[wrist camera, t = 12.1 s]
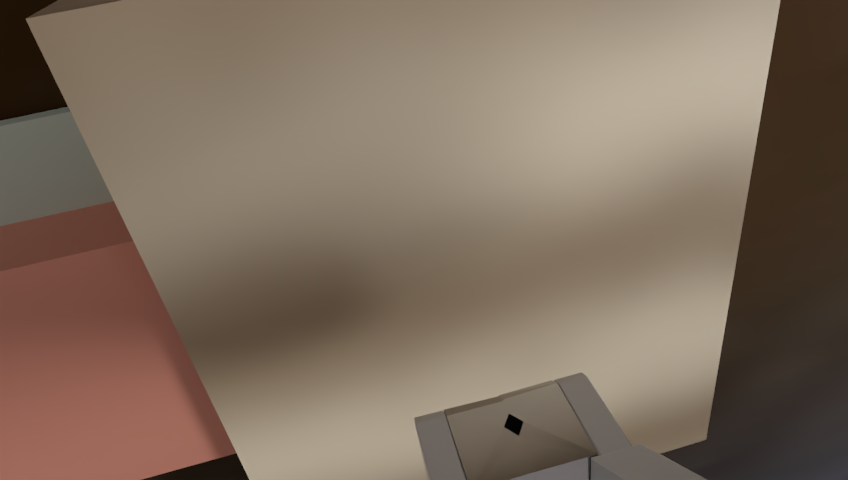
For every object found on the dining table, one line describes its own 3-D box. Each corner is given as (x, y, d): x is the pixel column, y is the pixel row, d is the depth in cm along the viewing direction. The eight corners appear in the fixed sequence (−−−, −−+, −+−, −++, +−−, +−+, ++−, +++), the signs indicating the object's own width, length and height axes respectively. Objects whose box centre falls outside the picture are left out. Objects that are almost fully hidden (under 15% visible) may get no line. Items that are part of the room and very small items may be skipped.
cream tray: (649, 368, 20) (706, 439, 17) (288, 472, 18) (292, 567, 16) (690, -126, 12) (802, -129, 10) (81, -13, 11) (25, 18, 8)
